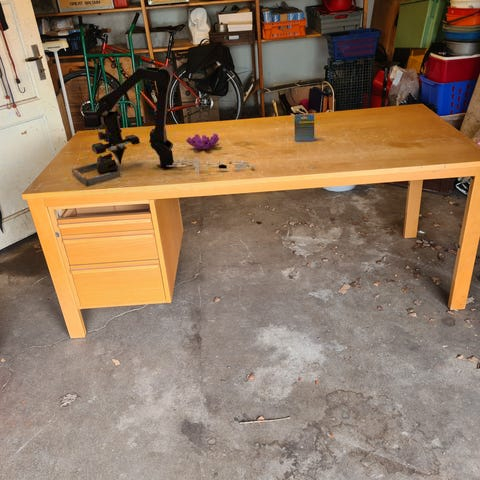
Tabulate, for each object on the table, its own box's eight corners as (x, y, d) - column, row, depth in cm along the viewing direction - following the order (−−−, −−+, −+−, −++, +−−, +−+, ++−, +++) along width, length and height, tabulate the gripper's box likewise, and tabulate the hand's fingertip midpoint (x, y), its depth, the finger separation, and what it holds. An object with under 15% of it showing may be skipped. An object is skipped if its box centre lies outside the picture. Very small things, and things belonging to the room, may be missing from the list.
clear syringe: (166, 174, 183) (171, 168, 195) (254, 174, 182) (254, 168, 194) (165, 158, 181) (170, 152, 192) (254, 158, 180) (254, 153, 192)
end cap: (102, 172, 194) (94, 157, 190) (117, 165, 194) (110, 150, 190) (102, 180, 185) (94, 165, 182) (118, 173, 186) (110, 158, 182)
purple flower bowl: (219, 156, 210) (216, 144, 201) (187, 157, 211) (182, 145, 203) (221, 135, 214) (218, 123, 205) (189, 136, 216) (185, 124, 207)
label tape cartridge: (314, 138, 212) (314, 111, 206) (314, 141, 209) (314, 114, 203) (294, 139, 213) (294, 112, 207) (294, 142, 210) (294, 115, 204)
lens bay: (120, 176, 186) (119, 170, 185) (87, 186, 179) (85, 179, 178) (104, 166, 198) (103, 160, 197) (72, 175, 191) (71, 168, 190)
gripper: (126, 118, 196) (132, 153, 203) (83, 128, 187) (91, 164, 194) (137, 123, 188) (143, 159, 195) (92, 133, 179) (101, 171, 186)
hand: (120, 163), depth 193 cm, fingers closed
